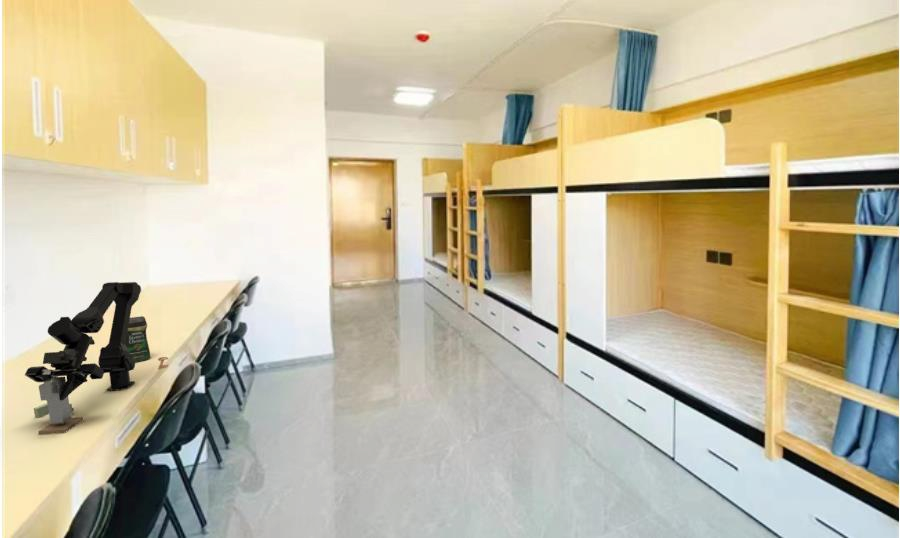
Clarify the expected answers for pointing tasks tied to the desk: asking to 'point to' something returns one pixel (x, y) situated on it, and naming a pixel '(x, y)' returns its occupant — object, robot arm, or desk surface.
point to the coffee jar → (137, 339)
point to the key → (162, 363)
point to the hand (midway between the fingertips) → (54, 400)
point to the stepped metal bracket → (55, 399)
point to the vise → (45, 410)
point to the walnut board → (61, 426)
